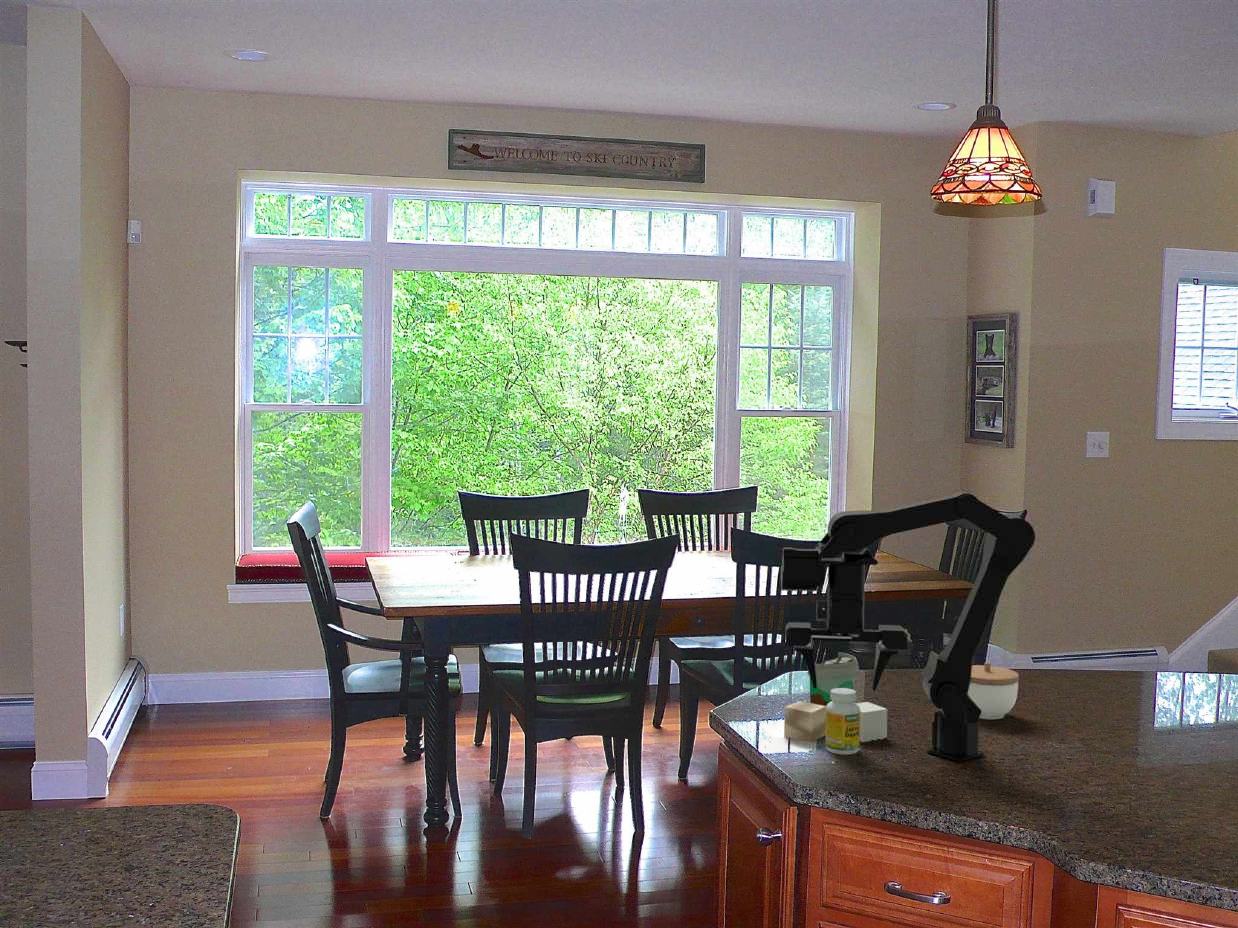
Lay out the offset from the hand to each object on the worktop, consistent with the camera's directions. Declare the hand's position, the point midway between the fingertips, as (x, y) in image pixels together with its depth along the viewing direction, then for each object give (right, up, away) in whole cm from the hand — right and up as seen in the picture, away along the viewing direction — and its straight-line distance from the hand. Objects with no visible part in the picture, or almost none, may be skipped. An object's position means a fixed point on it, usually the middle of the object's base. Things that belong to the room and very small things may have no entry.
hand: (844, 689), depth 185 cm
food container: (+3, -9, +21) cm, 23 cm away
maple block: (-5, -9, +8) cm, 13 cm away
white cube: (+5, -10, +8) cm, 14 cm away
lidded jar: (+30, -9, +22) cm, 38 cm away
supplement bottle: (0, -10, +1) cm, 10 cm away
